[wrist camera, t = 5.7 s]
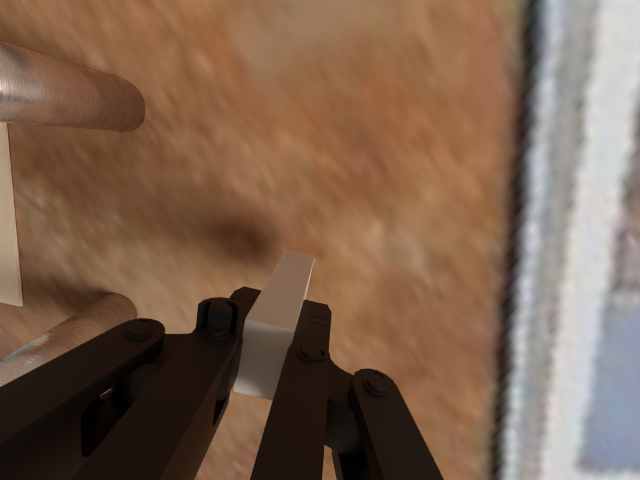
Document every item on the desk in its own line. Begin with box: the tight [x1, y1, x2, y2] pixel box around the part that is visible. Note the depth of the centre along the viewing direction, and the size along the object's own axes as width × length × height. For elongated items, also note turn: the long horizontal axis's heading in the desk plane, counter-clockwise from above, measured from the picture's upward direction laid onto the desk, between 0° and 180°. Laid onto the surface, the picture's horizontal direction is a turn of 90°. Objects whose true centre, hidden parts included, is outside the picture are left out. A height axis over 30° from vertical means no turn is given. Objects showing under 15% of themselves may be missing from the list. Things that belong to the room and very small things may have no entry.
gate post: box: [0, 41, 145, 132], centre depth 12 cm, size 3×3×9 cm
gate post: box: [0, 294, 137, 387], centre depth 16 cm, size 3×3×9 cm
